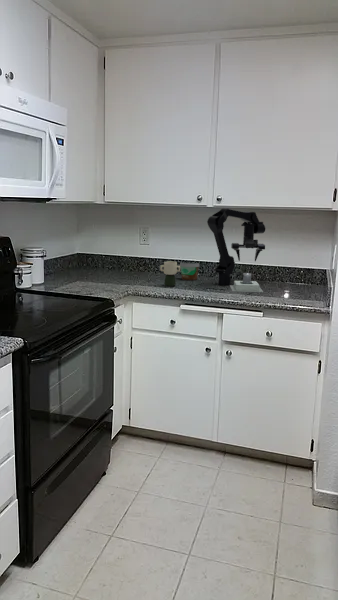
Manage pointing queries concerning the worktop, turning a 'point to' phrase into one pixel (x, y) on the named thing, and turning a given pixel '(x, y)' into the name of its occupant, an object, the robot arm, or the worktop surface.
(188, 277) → the food container
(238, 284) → the dock
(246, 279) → the spigot
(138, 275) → the worktop surface
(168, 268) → the character mug
